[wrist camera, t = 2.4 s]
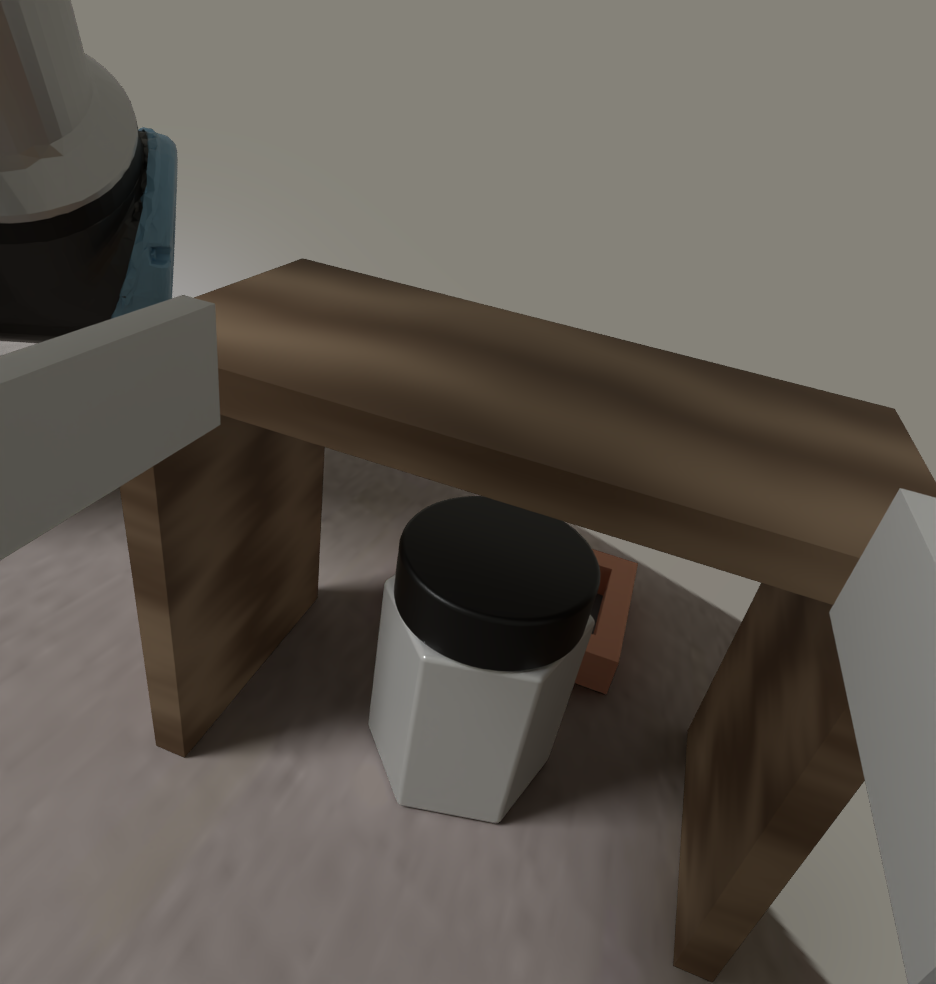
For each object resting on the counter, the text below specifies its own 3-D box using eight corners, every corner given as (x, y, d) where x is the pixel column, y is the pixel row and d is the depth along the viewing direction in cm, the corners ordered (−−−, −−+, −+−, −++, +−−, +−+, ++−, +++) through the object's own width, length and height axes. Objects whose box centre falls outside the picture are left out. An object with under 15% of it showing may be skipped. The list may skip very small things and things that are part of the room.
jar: (547, 695, 37) (605, 514, 31) (547, 838, 30) (621, 643, 24) (385, 664, 37) (408, 477, 31) (347, 800, 30) (367, 595, 24)
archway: (712, 982, 26) (1001, 599, 16) (156, 745, 31) (97, 332, 20) (716, 740, 36) (895, 409, 26) (294, 589, 41) (302, 258, 30)
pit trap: (606, 694, 38) (618, 662, 36) (390, 617, 40) (394, 585, 39) (627, 592, 45) (637, 563, 44) (445, 533, 48) (450, 504, 47)
